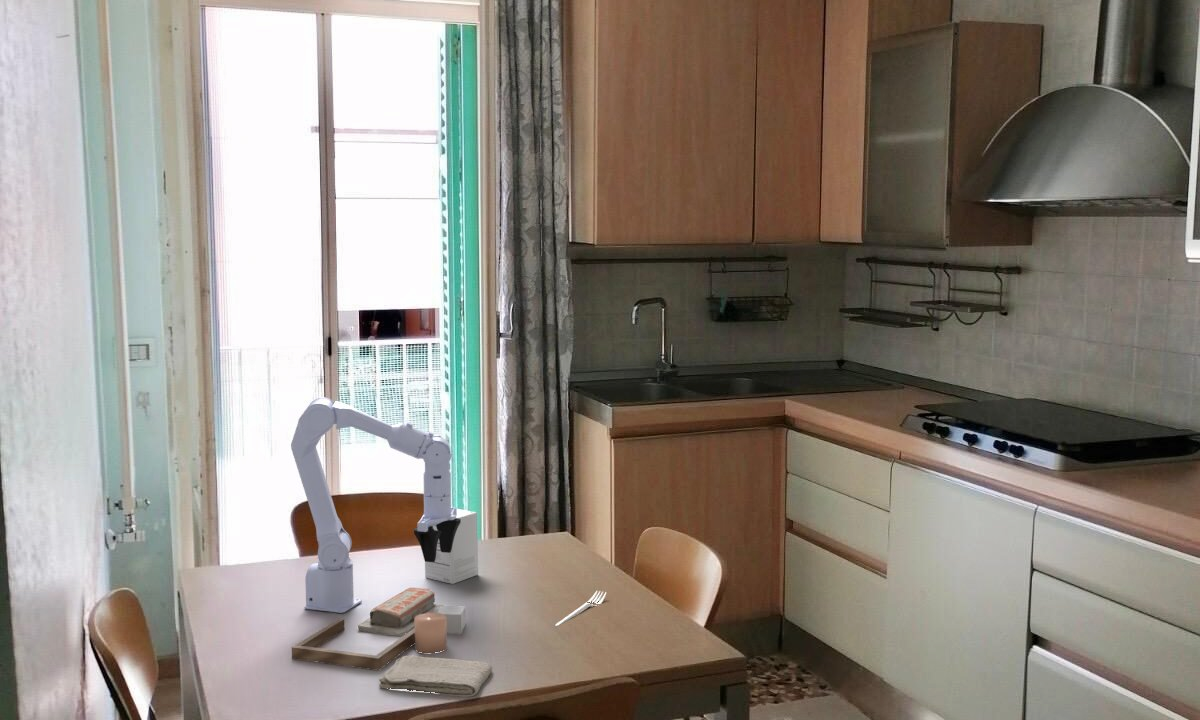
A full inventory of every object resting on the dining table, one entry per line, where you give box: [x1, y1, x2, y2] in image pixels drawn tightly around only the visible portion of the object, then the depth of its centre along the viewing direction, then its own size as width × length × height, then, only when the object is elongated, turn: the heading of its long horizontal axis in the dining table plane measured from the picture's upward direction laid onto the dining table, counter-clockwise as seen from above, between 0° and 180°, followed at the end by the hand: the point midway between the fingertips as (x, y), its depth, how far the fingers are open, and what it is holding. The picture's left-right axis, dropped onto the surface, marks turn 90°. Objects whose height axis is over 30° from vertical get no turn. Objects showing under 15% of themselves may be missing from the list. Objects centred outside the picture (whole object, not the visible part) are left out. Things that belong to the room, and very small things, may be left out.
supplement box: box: [424, 508, 479, 585], centre depth 259 cm, size 9×9×15 cm
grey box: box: [437, 605, 467, 634], centre depth 224 cm, size 5×5×4 cm
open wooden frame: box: [291, 618, 415, 671], centre depth 213 cm, size 18×17×2 cm
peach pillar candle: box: [414, 613, 448, 653], centre depth 214 cm, size 6×6×6 cm
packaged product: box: [357, 587, 445, 637], centre depth 230 cm, size 18×5×10 cm
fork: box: [554, 590, 607, 627], centre depth 235 cm, size 3×20×2 cm, turn 152°
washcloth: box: [378, 655, 493, 698], centre depth 198 cm, size 12×18×3 cm, turn 81°
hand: (438, 556), depth 240 cm, fingers open, 7 cm apart
